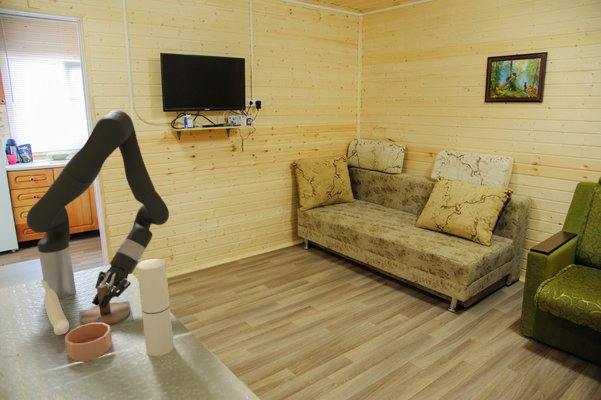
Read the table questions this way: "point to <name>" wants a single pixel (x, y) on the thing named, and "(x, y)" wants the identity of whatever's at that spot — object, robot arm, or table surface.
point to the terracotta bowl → (88, 341)
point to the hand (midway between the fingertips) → (98, 305)
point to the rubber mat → (127, 319)
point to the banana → (54, 310)
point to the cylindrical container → (155, 306)
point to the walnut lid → (105, 311)
